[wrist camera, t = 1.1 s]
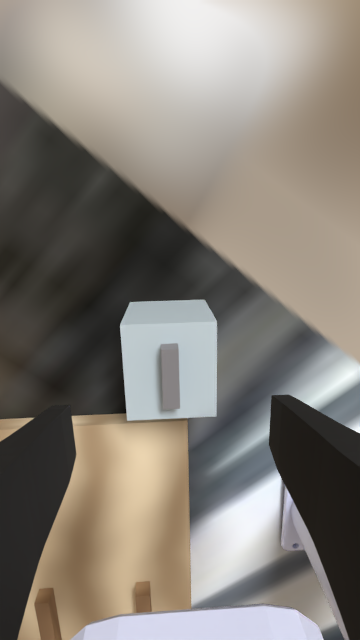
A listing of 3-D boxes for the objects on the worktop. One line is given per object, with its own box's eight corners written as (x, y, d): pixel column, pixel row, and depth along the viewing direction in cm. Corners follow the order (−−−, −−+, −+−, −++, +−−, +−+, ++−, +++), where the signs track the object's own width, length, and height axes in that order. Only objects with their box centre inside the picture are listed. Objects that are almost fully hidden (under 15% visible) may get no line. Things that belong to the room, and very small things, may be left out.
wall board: (186, 410, 22) (188, 429, 20) (190, 625, 28) (193, 658, 25) (-29, 420, 22) (-50, 441, 19) (18, 638, 27) (6, 673, 25)
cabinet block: (204, 299, 20) (219, 326, 15) (204, 374, 22) (218, 425, 16) (130, 301, 20) (117, 330, 15) (135, 377, 21) (125, 430, 16)
